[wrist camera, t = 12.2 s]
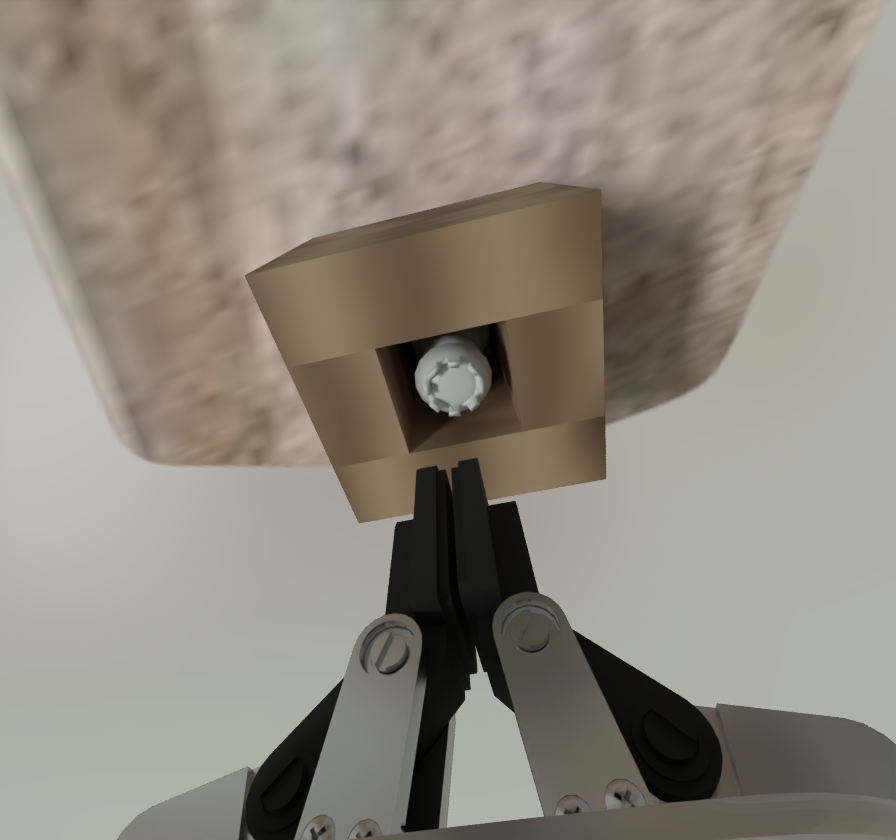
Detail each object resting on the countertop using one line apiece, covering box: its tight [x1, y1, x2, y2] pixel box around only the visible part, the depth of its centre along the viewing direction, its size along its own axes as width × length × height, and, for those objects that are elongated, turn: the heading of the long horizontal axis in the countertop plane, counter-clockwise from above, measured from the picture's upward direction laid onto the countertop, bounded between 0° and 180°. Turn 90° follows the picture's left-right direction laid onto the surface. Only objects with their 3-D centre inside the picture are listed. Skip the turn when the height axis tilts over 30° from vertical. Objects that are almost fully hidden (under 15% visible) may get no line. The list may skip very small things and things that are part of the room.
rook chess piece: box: [411, 324, 492, 417], centre depth 20 cm, size 4×4×8 cm
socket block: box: [245, 183, 606, 523], centre depth 20 cm, size 12×12×9 cm
